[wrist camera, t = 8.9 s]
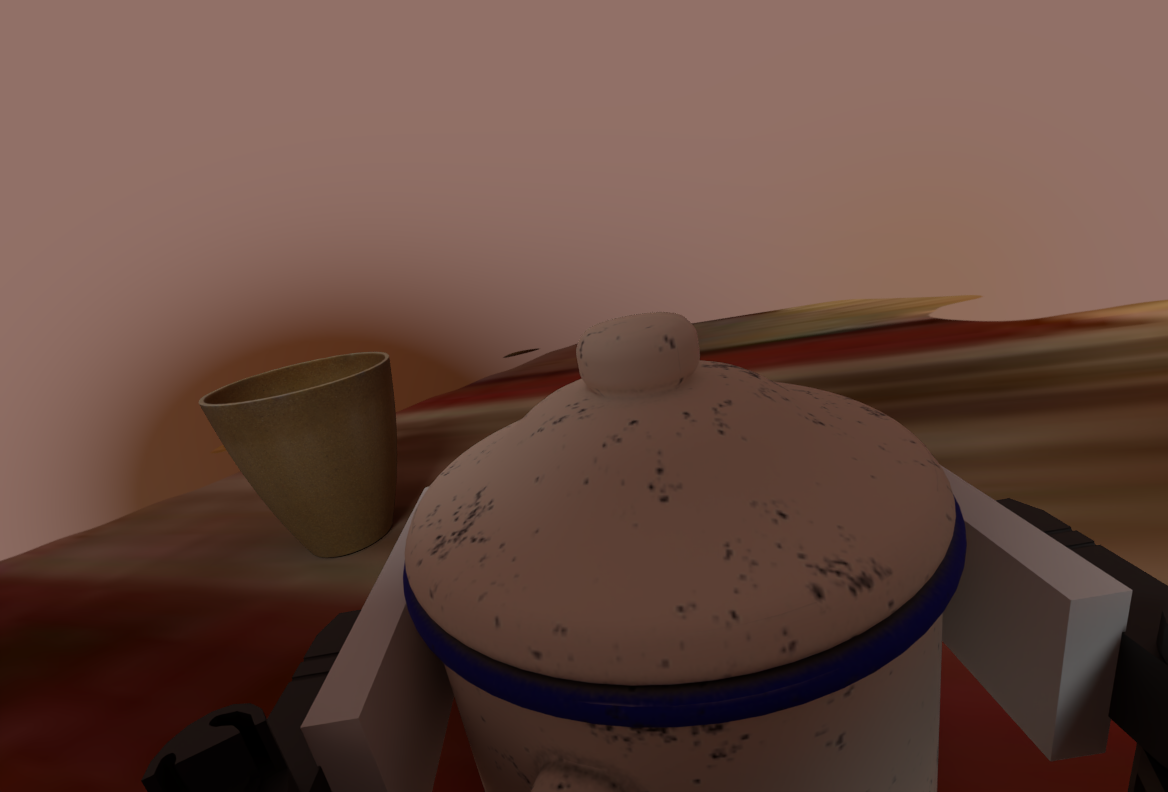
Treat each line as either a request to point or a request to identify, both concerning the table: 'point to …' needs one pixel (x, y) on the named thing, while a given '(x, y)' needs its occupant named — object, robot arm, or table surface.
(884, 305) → the table surface
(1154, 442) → the table surface
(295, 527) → the plant pot
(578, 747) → the teacup with lid
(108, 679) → the table surface
